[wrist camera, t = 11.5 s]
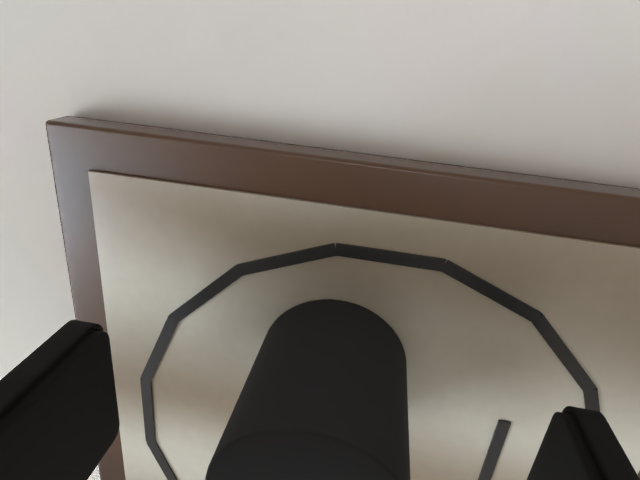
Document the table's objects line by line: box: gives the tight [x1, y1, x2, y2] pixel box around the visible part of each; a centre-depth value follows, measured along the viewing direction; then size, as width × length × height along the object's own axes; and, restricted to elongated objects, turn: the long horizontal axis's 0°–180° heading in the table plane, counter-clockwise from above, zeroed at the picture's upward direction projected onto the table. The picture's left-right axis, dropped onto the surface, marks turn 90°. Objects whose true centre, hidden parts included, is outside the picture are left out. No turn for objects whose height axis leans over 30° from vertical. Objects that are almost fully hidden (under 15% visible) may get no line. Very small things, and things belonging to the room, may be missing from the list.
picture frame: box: [46, 116, 640, 480], centre depth 13 cm, size 16×16×1 cm
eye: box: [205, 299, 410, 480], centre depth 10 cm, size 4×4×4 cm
